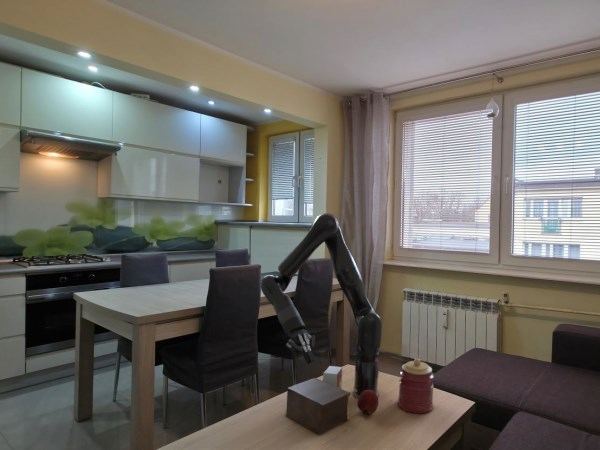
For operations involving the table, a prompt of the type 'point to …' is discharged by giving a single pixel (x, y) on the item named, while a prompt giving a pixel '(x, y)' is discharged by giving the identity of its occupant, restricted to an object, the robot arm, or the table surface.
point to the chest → (316, 413)
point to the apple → (368, 401)
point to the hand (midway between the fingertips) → (311, 362)
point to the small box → (333, 376)
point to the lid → (318, 392)
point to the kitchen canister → (416, 387)
